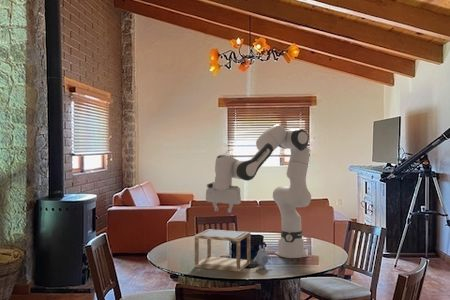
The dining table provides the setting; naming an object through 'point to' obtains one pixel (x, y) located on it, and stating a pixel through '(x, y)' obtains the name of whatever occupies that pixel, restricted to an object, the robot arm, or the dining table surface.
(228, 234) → the trapdoor
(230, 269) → the frame
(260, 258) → the toy figure
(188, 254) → the dining table surface
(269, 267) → the dining table surface
